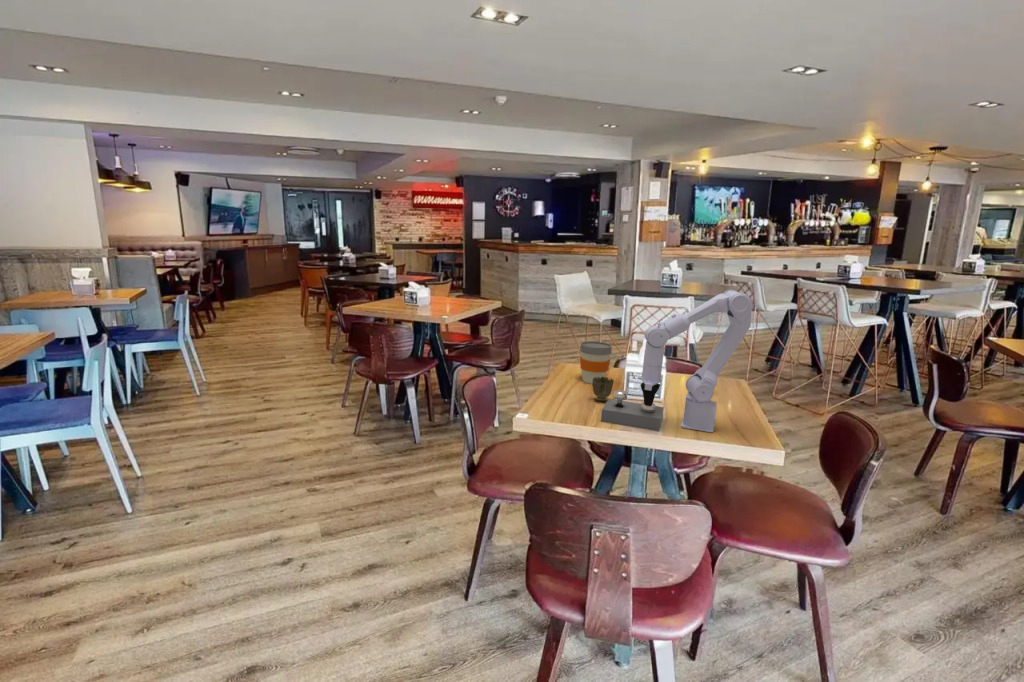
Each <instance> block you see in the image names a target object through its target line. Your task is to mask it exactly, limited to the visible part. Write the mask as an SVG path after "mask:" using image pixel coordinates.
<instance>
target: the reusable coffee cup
mask: <svg viewBox="0 0 1024 682" xmlns="http://www.w3.org/2000/svg"><path fill="white" fill-rule="evenodd" d="M579 351H580V357H579V362H580V363H579V365H580V369H581V379H582V381H583V382H584V383H586V384H591V385H593V379H594V378H595V377H597V379H598V377H599V378H601V377H605V378H606V376H607V372H608V371H609V368H610V364H611V359H610V358H611V354H612V344H610V343H608V342H607V343H606V342H604V341H603V342H601V341H583V342H581V344H580V349H579Z"/></svg>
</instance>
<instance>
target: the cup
mask: <svg viewBox="0 0 1024 682" xmlns="http://www.w3.org/2000/svg"><path fill="white" fill-rule="evenodd" d="M613 386H614V379H613V378H610V379H609V378H608V376H607V377H601V378H599V377H598V379H597V377H595V378H594V379H593V384H592V391H593V394H594V395H595V397H596V401H597V402H600V403H601V402H602V403H603V402H604V403H606V402H607V401H608V397H610V395H612V390H613Z"/></svg>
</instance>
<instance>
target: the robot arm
mask: <svg viewBox="0 0 1024 682" xmlns="http://www.w3.org/2000/svg"><path fill="white" fill-rule="evenodd" d="M753 309H754V305H753V302H752V299H751V297H750V296H749V295H748V294H747V293H743V292H740V291H739V292H738V290H734V289H728V290H725V291H724V292H723V293H719V294H716V295H715V296H713V297H712V298H710V299H708V300H707V301H705V302H703V303H702V304H700V305H699V306H697V307H695V308H693V309H692V310H690V311H689V312H687V313H685V314H684V313H679V312H678V313H677V314H676V313H673V314H671V315H670V316H671V317H670V318H667V319H665V320H664V321H662V322H660V321H658V322H657V323H656V325H652V326H650V327H648V328H647V329H646V331H645V333H644V339H645V340H646V342H645V349H644V355H643V363H642V371H641V372H642V373H641V375H638V377H637V379H638V380H640V381H642V382H641V383H640V388H641V391H642V395H643V402H644V405H650V406H652V404H654V400H655V396H656V394H657V393H658V391H659V390H660V387H661V382H662V371H663V370H662V369H663V362H664V353H665V352H664V348H665V345H666V344H667V343H668V340H671V339H673V338H675V337H677V336H679V335H680V334H682V333H684V332H686V331H688V330H689V329H690V326H691V324H693V323H695V322H697V321H699V320H702V319H703V318H705V317H708V316H709V315H712V314H714V313H726V314H727V317H728V321H729V322H730V324H729V325H728V327H727V329H726V330H725V332H724V333H723V335H722V336H721V338H719V340H718V342H717V344H716V345H715V347H714V348H713V350H712V351H711V353H710V354H709V356H708V358H707V359H706V361H705V362H704V364H703V365H702V366H701V367H700V368H697V369H696V370H695V372H694V374H692V375H690V376H689V377H688V378H687V379H686V381H685V389H686V390H687V394H686V396H685V402H684V411H683V418H682V419H681V423H680V427H681V428H684V429H689V430H694V431H699V432H700V431H701V432H707V433H714V428H715V425H716V412H717V401H713V400H711V399H712V398H713V396H714V390H715V389H716V386H717V384H718V377H719V375H720V373H721V372H722V371H723V369H724V367H725V366H726V364H727V363H728V361H729V360H730V358H731V357H732V355H733V354H734V352H735V351H736V349H737V348H738V346H739V345H740V343H741V342H742V340H743V338H744V337H745V335H747V333H748V331H749V330H750V328H751V325H752V324H751V323H752V311H753Z"/></svg>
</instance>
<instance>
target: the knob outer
mask: <svg viewBox="0 0 1024 682" xmlns="http://www.w3.org/2000/svg"><path fill="white" fill-rule="evenodd" d="M628 393H629V392H628V391H627V390H623V389H615V390H613V395H612V396H613V397H612V399H614V400H617V406H622V401H627V399H628Z"/></svg>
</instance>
